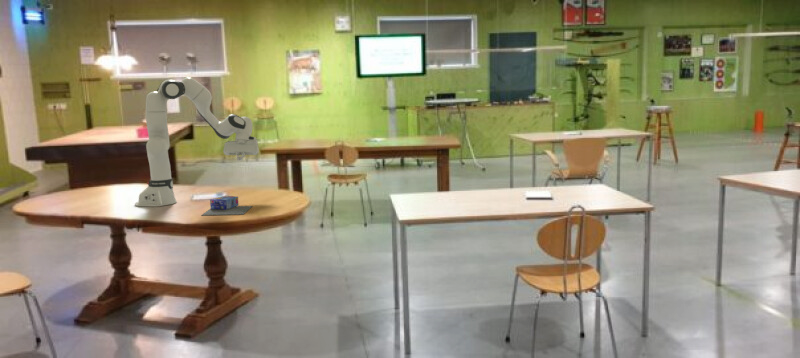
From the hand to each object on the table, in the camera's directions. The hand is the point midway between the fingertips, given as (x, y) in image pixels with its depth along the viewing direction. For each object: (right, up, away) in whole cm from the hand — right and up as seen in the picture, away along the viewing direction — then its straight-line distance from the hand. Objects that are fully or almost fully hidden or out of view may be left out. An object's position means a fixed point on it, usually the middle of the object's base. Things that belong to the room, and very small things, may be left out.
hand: (239, 159), depth 372 cm
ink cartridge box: (0, -23, -15) cm, 27 cm away
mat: (+1, -28, -28) cm, 40 cm away
